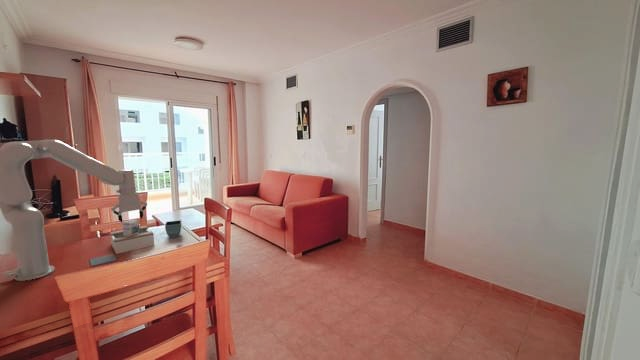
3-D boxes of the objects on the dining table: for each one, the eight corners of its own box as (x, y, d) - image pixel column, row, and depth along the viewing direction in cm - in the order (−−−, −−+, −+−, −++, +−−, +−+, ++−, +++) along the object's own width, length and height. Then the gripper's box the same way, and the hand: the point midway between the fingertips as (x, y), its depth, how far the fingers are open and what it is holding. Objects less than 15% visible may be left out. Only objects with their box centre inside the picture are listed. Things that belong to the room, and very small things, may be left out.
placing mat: (91, 266, 130) (91, 266, 129) (89, 260, 137) (89, 259, 137) (116, 260, 136) (116, 259, 136) (114, 254, 144) (113, 253, 143)
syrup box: (132, 247, 153) (130, 222, 151) (124, 246, 155) (121, 222, 152) (141, 243, 159) (139, 219, 157) (133, 242, 160) (130, 219, 158)
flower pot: (167, 234, 173) (166, 221, 172) (182, 233, 177) (181, 220, 176) (165, 239, 166) (164, 225, 164) (181, 237, 169) (180, 223, 168)
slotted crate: (116, 253, 144) (114, 240, 143) (111, 244, 157) (110, 232, 156) (154, 245, 157) (153, 232, 156) (147, 236, 169) (146, 225, 168)
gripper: (109, 194, 143) (113, 224, 146) (147, 189, 155) (150, 218, 158) (107, 192, 149) (111, 221, 152) (144, 187, 161) (147, 215, 164)
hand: (131, 219), depth 155 cm, fingers open, 9 cm apart
